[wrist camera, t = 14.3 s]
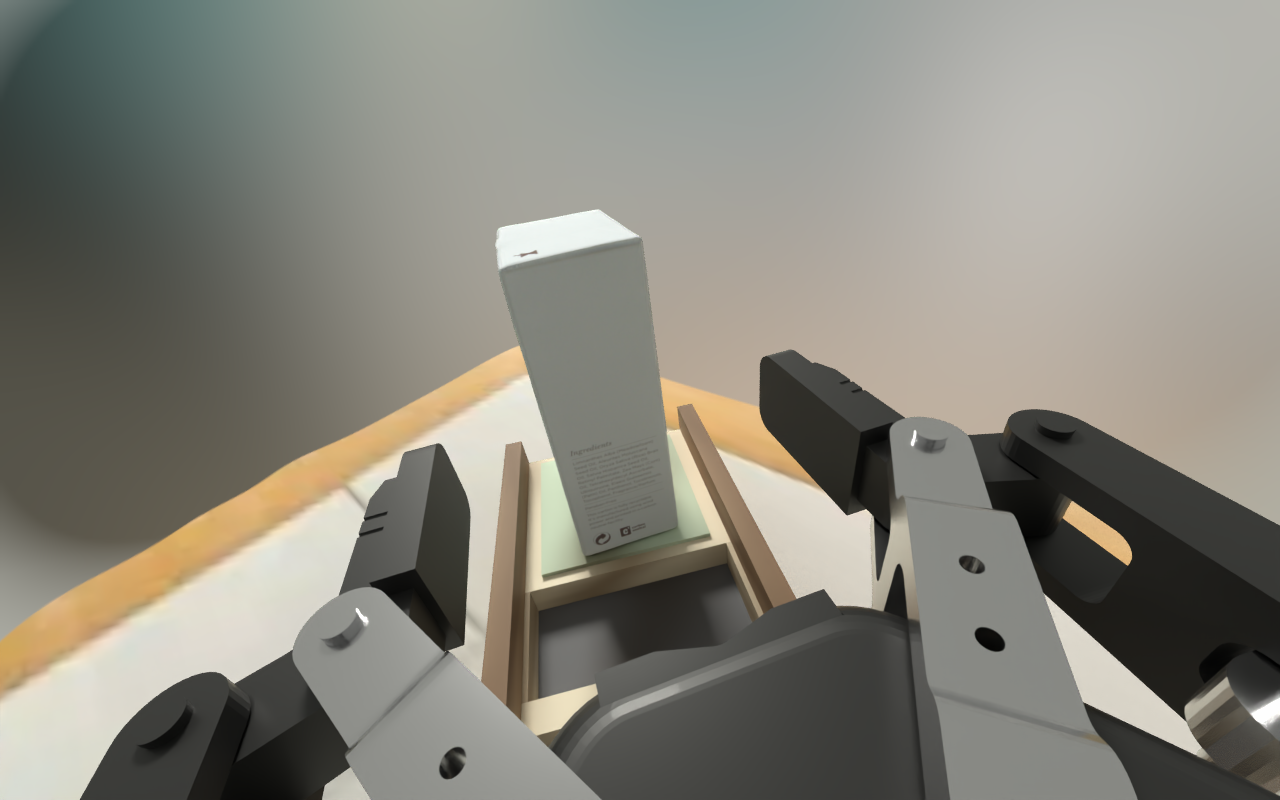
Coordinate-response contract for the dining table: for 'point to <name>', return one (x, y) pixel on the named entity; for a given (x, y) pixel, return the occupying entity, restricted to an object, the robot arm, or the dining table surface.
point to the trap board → (616, 582)
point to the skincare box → (593, 370)
